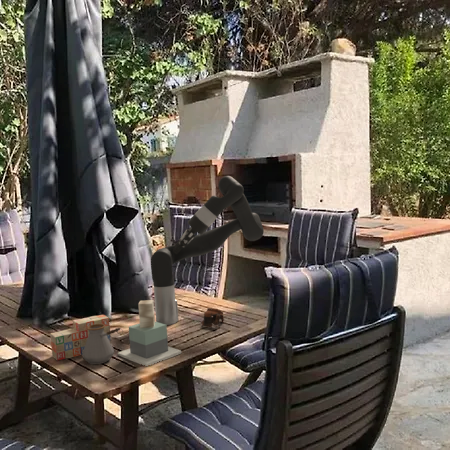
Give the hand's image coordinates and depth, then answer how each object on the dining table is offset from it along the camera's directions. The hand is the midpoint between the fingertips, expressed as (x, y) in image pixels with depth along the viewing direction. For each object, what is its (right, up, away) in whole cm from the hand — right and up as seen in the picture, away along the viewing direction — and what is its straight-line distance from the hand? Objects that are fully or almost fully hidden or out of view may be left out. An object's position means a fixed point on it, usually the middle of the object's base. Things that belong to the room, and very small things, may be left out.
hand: (174, 250), depth 200 cm
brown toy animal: (+15, -34, +24) cm, 44 cm away
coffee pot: (-23, -40, -14) cm, 48 cm away
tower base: (-9, -38, -8) cm, 40 cm away
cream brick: (-9, -27, -9) cm, 30 cm away
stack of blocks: (-36, -39, -1) cm, 53 cm away
